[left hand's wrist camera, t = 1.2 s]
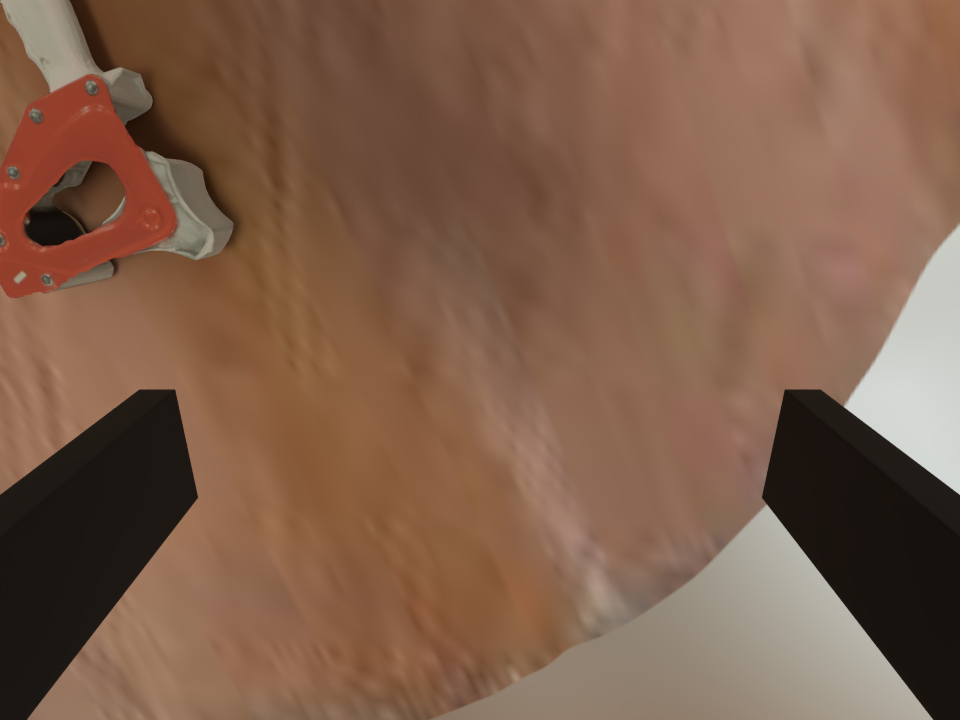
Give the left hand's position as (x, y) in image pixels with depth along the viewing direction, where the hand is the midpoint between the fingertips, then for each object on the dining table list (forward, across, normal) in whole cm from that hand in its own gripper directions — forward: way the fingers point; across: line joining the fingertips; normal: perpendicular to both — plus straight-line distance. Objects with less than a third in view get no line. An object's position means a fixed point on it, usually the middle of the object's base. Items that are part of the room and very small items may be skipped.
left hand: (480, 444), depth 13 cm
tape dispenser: (+26, -22, +6) cm, 35 cm away
